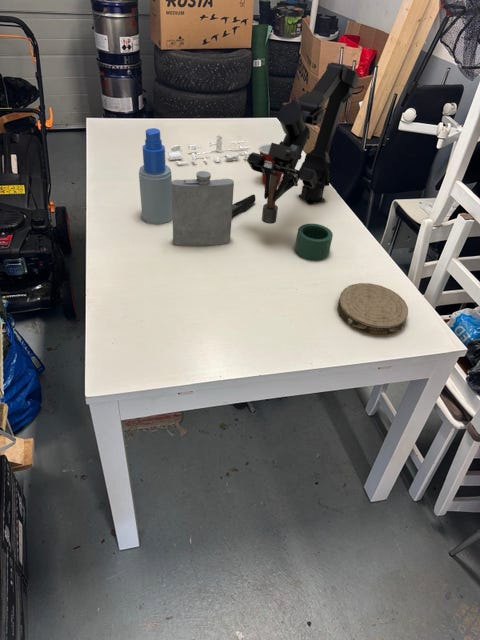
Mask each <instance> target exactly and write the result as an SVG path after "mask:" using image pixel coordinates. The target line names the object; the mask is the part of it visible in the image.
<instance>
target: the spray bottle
mask: <svg viewBox="0 0 480 640" xmlns="http://www.w3.org/2000/svg"><path fill="white" fill-rule="evenodd" d="M141 149H142V158H143V159H142V160H143V161H142V163H143V165H141V166H140V167H139V169H138V180H139V194H140V206H141V207H140V208H141V218H142V220H143V221H144V222H146V223H148V224H152V225H163V224H167V223H169V222H170V221H172V220H173V219H172V185H171V182H172V181H173V179H172V170H171V168H170V166H168V165H166V164H167V163H166V146H165V145H164V144H163V141H162V139H161V129H158V128H153V127H152V128H147V129H145V139H144V144H143V145H142V148H141Z"/></svg>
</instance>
